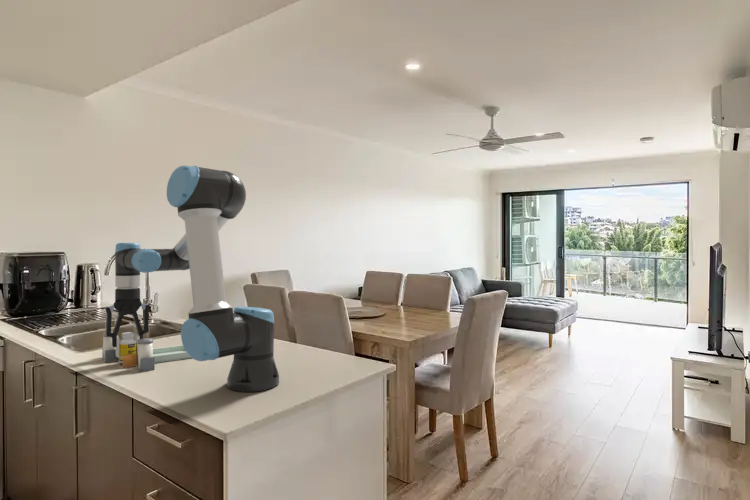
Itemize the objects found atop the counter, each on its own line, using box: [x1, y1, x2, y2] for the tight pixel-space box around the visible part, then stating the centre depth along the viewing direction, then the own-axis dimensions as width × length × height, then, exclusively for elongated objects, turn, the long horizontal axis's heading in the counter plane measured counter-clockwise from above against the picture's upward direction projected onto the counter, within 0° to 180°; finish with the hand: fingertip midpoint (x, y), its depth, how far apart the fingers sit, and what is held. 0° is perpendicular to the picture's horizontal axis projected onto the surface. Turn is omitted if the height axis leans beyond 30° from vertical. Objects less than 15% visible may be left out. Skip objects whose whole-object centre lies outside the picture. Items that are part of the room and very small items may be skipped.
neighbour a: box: [137, 337, 154, 370], centre depth 151 cm, size 5×5×9 cm
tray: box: [153, 344, 192, 364], centre depth 166 cm, size 12×16×2 cm
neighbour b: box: [102, 330, 119, 362], centre depth 161 cm, size 5×5×9 cm
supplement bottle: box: [117, 331, 137, 364], centre depth 156 cm, size 5×5×10 cm
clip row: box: [101, 345, 156, 372], centre depth 156 cm, size 26×12×4 cm, turn 37°
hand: (127, 354), depth 156 cm, fingers closed on supplement bottle, 5 cm apart
